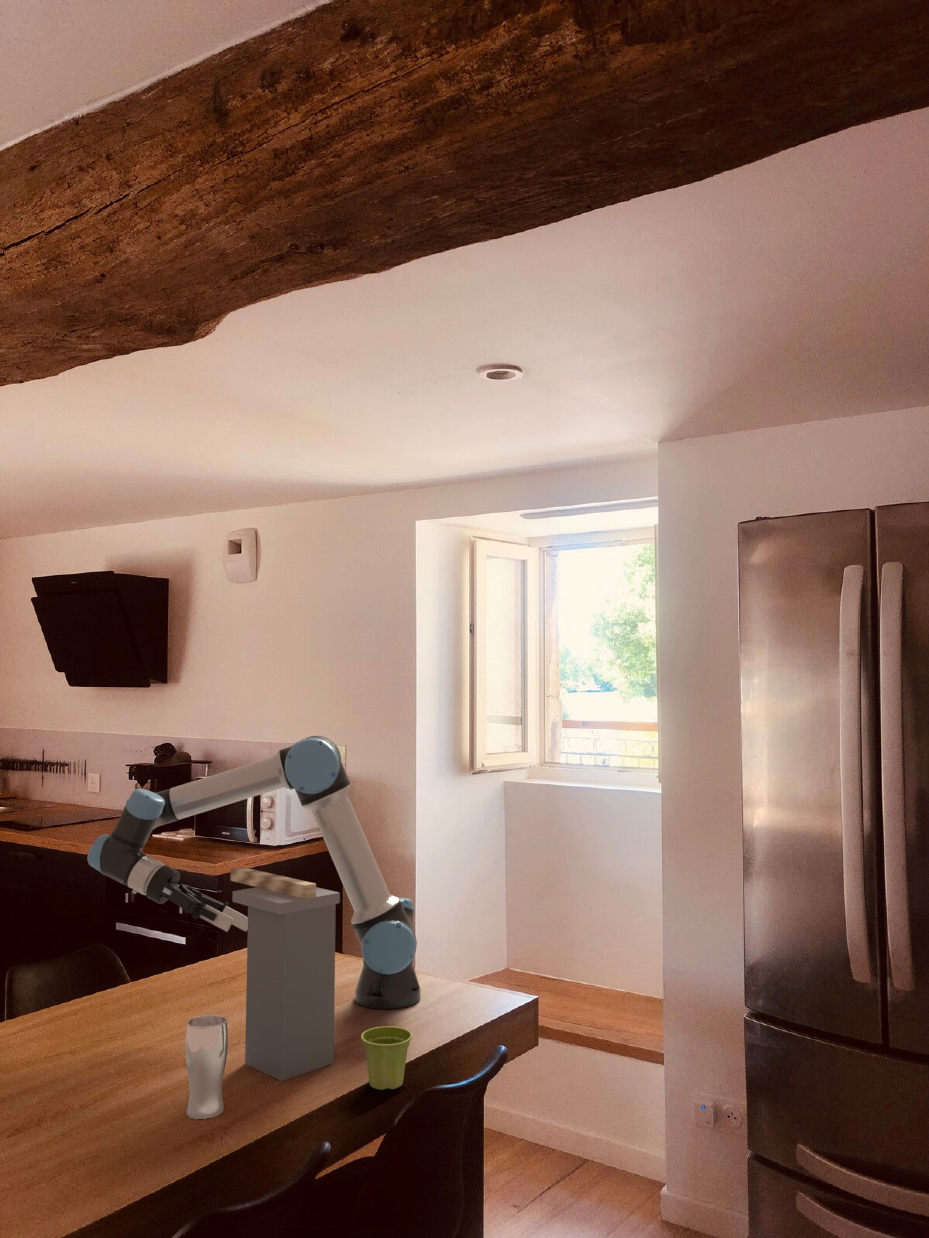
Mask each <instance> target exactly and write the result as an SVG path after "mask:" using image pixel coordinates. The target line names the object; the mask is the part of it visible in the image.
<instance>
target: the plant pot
mask: <svg viewBox="0 0 929 1238" xmlns="http://www.w3.org/2000/svg"><path fill="white" fill-rule="evenodd" d="M360 1039H361V1041H362V1042H363V1043H362V1044H363V1048H364V1049H365V1057H366V1066H367V1074H368V1075H367V1076H368V1077H367V1078H368V1084H369V1086H370V1087H371V1088H373V1089H376V1090H380V1091H385V1089H389V1090H395V1089H398V1088H400V1087H401V1086H402V1085H403V1083H404V1078H405V1070H406V1069H405V1068H406V1063H407V1056H408V1055H407V1054H408V1048H409V1047H410V1042H411V1040H412V1039H413V1032H412V1031H410V1030H409V1029H408V1028H407V1029H406V1028H404V1027H401V1026H400V1027H399V1026H394V1025H388V1026H387V1025H386V1026H383V1025H382V1026H376V1027H372V1028H367V1030H365V1031H363V1032H362V1033H361V1036H360Z"/></svg>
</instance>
